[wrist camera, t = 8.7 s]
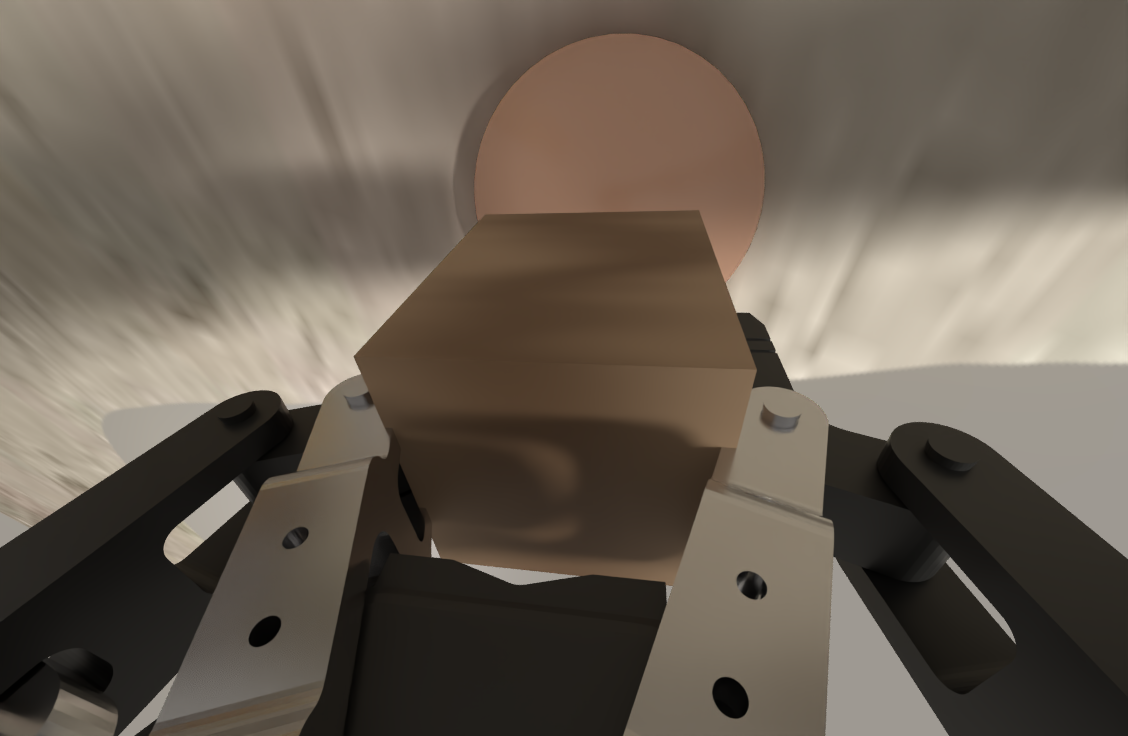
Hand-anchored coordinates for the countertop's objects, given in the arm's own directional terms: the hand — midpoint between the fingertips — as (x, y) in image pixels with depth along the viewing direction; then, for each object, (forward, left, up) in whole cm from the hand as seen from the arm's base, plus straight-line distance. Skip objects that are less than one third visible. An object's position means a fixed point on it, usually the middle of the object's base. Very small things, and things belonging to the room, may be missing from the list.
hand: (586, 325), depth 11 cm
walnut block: (0, 0, -1) cm, 1 cm away
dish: (0, 0, -11) cm, 11 cm away
